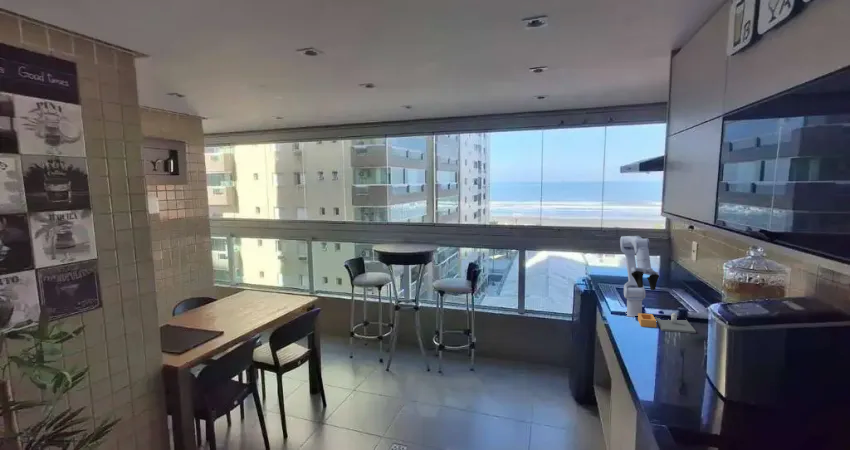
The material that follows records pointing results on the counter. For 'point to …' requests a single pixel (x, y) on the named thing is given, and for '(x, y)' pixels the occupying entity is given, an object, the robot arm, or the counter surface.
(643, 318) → the orange rectangular frame
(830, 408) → the counter surface
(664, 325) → the keeper plate
